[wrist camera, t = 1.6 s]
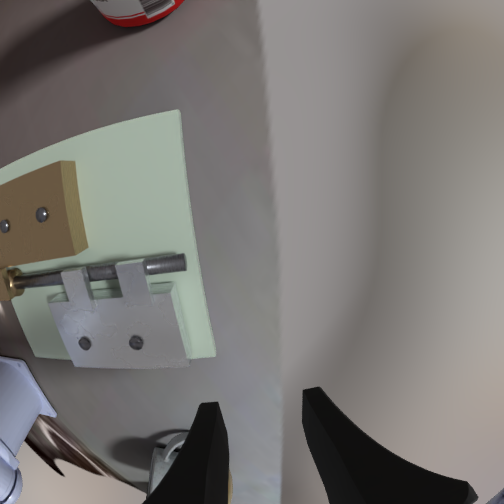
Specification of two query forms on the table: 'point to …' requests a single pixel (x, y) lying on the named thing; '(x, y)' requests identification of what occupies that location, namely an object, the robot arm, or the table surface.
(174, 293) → the steel leaf
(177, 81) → the table surface
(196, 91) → the table surface
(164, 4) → the beer can
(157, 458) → the ceramic mug
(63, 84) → the table surface
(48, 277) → the bronze leaf
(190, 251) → the board
